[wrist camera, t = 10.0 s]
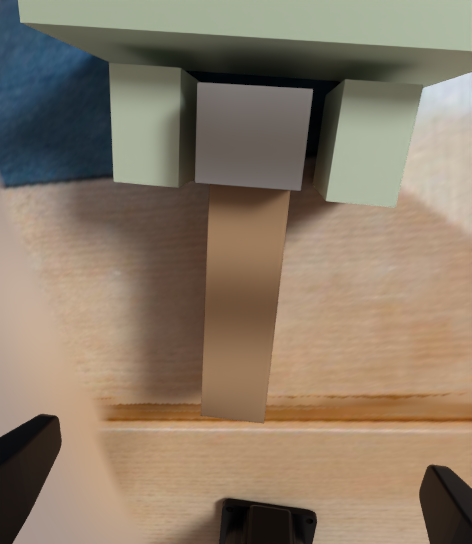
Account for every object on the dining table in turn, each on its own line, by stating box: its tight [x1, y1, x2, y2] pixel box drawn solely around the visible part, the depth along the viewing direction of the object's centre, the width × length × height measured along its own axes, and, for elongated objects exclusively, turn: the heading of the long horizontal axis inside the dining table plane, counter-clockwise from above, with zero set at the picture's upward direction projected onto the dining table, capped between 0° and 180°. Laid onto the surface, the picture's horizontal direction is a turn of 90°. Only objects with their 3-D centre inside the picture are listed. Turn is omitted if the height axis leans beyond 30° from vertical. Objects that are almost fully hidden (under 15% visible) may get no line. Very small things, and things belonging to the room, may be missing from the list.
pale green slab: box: [18, 0, 472, 208], centre depth 14 cm, size 6×14×7 cm, turn 86°
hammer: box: [195, 82, 313, 423], centre depth 17 cm, size 14×4×6 cm, turn 176°
